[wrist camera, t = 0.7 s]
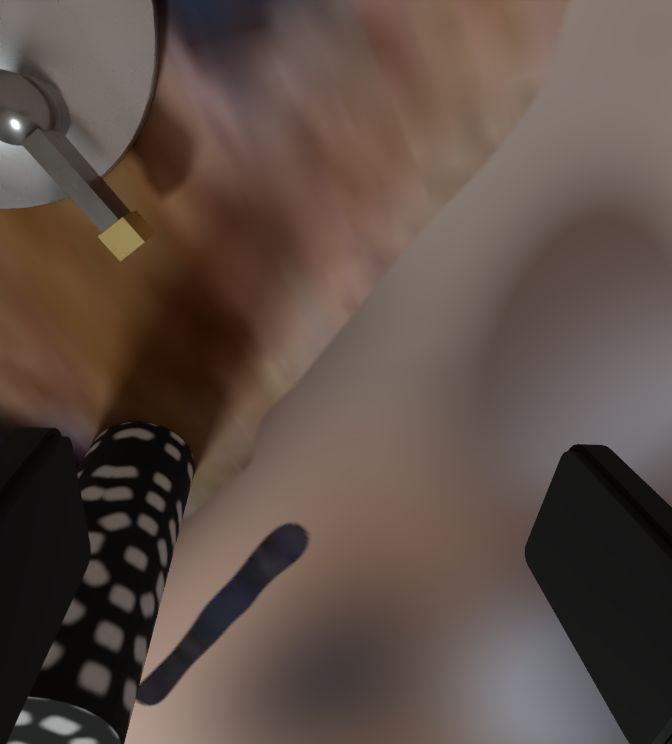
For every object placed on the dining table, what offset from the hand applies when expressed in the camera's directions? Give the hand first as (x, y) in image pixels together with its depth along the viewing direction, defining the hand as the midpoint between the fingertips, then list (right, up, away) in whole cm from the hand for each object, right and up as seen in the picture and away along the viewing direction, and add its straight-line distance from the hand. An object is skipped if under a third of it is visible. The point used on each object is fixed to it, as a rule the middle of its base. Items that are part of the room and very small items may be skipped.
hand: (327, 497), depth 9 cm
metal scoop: (-14, +14, +17) cm, 26 cm away
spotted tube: (-16, -5, +29) cm, 33 cm away
